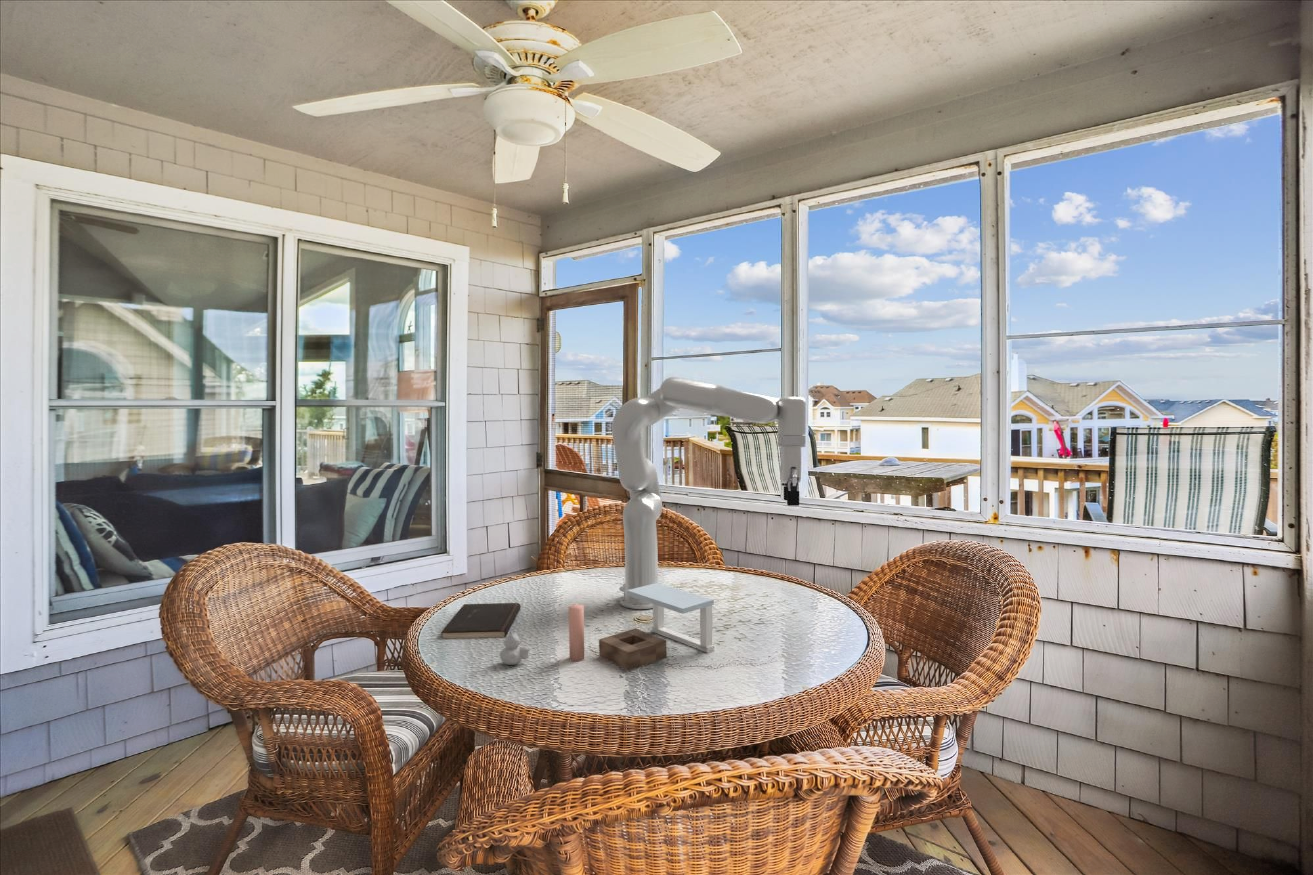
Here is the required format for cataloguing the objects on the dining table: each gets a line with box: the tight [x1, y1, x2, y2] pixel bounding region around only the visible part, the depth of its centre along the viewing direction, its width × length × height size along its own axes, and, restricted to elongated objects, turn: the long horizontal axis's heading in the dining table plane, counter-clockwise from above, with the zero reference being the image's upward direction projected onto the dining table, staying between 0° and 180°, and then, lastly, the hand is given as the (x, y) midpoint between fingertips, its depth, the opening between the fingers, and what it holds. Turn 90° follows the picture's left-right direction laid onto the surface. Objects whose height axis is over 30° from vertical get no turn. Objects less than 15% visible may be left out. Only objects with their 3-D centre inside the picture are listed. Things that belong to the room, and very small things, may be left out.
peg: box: [568, 604, 585, 662], centre depth 150 cm, size 3×3×12 cm
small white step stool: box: [627, 582, 715, 654], centre depth 158 cm, size 20×10×12 cm, turn 41°
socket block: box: [598, 628, 668, 671], centre depth 151 cm, size 11×11×4 cm
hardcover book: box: [440, 602, 522, 639], centre depth 176 cm, size 16×23×2 cm
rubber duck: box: [499, 628, 530, 666], centre depth 148 cm, size 5×7×8 cm
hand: (791, 502), depth 183 cm, fingers open, 9 cm apart
